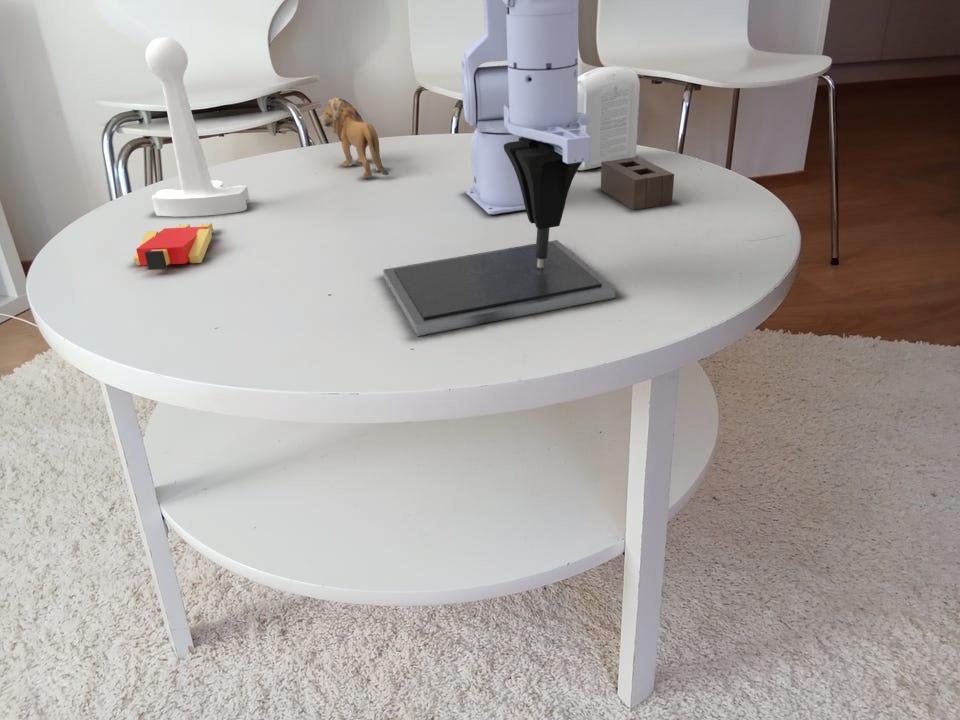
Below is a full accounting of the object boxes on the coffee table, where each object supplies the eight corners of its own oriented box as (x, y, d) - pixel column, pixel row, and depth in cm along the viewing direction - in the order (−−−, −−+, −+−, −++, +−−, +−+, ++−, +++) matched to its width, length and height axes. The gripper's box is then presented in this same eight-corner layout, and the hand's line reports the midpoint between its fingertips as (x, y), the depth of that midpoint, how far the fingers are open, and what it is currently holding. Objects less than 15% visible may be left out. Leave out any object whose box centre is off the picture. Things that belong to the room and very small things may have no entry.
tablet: (384, 278, 74) (382, 267, 74) (557, 249, 79) (557, 237, 78) (417, 336, 64) (415, 323, 63) (615, 298, 68) (616, 285, 67)
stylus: (532, 265, 72) (538, 180, 68) (543, 264, 72) (550, 179, 69) (536, 269, 71) (543, 183, 67) (548, 268, 71) (555, 183, 68)
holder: (633, 210, 88) (634, 179, 86) (600, 190, 95) (601, 161, 93) (672, 203, 89) (674, 173, 88) (636, 184, 96) (638, 156, 95)
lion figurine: (322, 162, 113) (312, 99, 109) (354, 155, 116) (345, 93, 111) (372, 183, 103) (364, 113, 98) (406, 174, 105) (399, 106, 101)
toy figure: (165, 218, 88) (118, 251, 77) (224, 216, 88) (186, 248, 77) (170, 239, 89) (124, 274, 78) (228, 237, 89) (191, 272, 78)
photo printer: (619, 153, 109) (623, 60, 103) (641, 159, 106) (646, 63, 100) (562, 167, 105) (562, 71, 99) (583, 173, 102) (584, 75, 95)
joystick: (151, 218, 94) (104, 42, 85) (172, 199, 101) (131, 34, 91) (242, 213, 94) (204, 37, 84) (257, 194, 101) (224, 29, 91)
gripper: (628, 72, 58) (621, 242, 65) (553, 49, 70) (553, 195, 77) (541, 81, 56) (543, 256, 63) (479, 56, 68) (486, 205, 75)
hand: (544, 223), depth 70 cm, fingers closed on stylus, 1 cm apart
